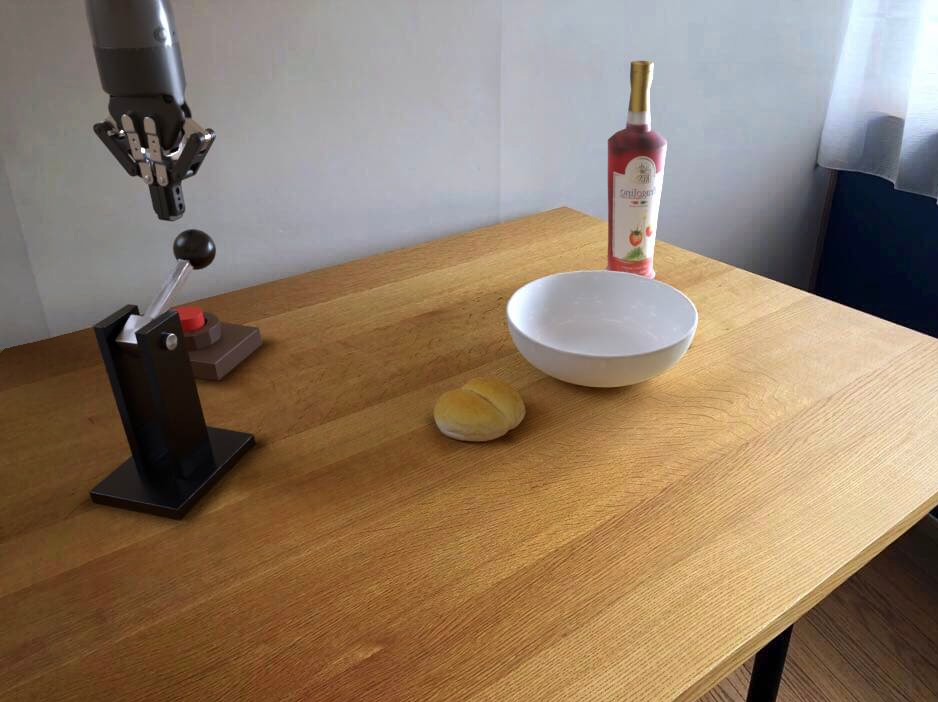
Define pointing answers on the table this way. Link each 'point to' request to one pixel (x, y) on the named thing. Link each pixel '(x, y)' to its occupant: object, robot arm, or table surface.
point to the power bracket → (161, 422)
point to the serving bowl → (601, 326)
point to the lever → (170, 283)
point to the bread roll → (479, 410)
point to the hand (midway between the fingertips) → (171, 218)
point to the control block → (219, 346)
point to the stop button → (191, 318)
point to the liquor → (635, 181)
